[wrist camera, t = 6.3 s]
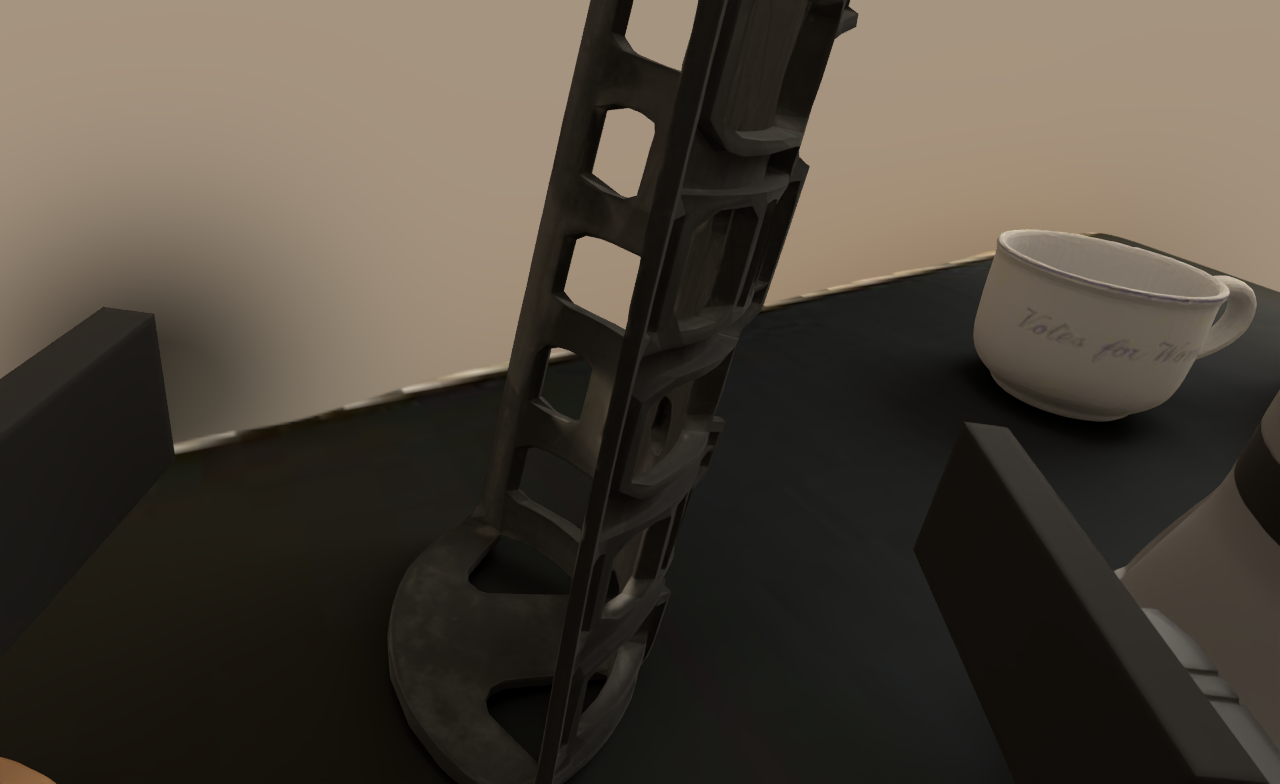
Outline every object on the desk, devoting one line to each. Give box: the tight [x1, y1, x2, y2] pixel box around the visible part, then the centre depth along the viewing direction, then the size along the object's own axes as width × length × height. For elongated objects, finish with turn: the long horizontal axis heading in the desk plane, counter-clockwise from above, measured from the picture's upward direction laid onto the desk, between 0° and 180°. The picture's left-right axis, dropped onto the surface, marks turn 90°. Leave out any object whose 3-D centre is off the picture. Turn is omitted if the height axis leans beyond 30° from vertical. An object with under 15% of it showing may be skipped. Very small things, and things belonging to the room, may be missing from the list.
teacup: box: [974, 229, 1257, 422], centre depth 44 cm, size 14×11×8 cm
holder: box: [387, 0, 858, 784], centre depth 20 cm, size 11×8×20 cm
